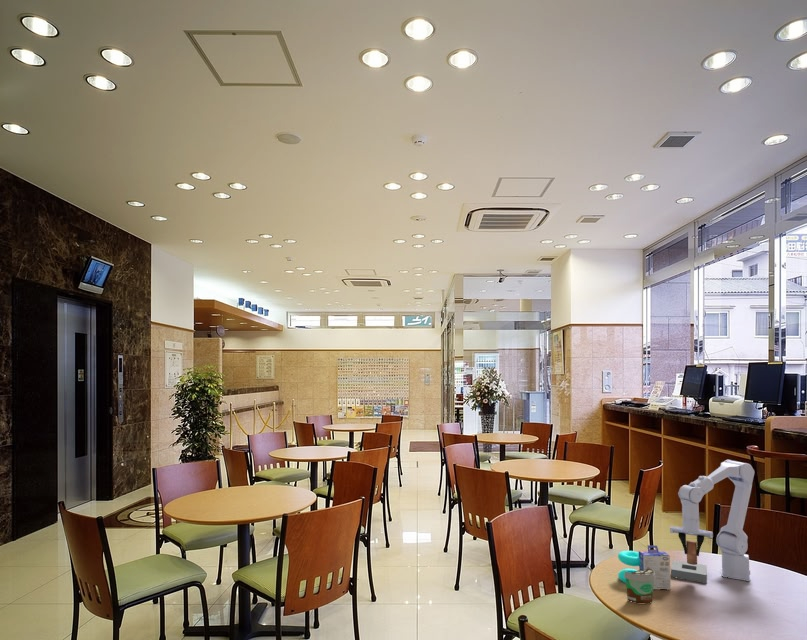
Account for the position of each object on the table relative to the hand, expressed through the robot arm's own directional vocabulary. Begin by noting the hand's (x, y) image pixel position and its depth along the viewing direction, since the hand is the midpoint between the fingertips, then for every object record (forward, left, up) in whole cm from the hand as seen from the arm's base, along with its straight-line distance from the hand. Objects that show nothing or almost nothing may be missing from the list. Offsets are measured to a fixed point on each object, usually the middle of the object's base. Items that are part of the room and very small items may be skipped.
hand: (691, 554), depth 216 cm
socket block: (+1, -6, -10) cm, 12 cm away
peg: (0, 0, -3) cm, 3 cm away
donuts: (+20, +12, -10) cm, 25 cm away
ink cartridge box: (+12, +14, -10) cm, 21 cm away
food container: (+14, +30, -10) cm, 35 cm away
